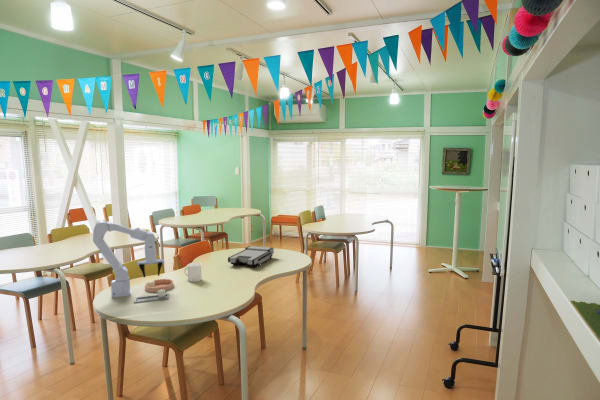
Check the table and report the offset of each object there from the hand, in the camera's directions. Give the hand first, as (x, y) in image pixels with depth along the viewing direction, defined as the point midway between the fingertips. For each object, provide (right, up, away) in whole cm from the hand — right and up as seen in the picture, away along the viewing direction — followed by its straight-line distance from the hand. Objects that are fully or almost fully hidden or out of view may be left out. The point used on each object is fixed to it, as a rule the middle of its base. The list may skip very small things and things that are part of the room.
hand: (151, 276), depth 214 cm
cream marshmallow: (-1, -8, +2) cm, 8 cm away
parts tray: (+6, -10, -14) cm, 18 cm away
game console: (+51, -2, +58) cm, 77 cm away
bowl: (+3, -8, +4) cm, 9 cm away
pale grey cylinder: (+11, -9, -13) cm, 19 cm away
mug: (+18, -6, +19) cm, 27 cm away
